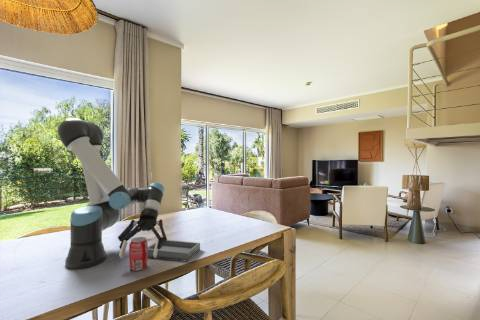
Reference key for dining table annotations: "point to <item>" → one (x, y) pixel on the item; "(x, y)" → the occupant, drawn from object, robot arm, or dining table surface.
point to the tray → (175, 250)
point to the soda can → (138, 253)
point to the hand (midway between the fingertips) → (137, 256)
